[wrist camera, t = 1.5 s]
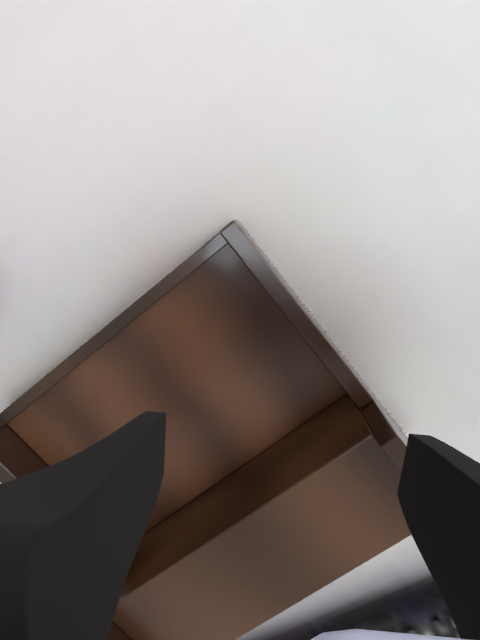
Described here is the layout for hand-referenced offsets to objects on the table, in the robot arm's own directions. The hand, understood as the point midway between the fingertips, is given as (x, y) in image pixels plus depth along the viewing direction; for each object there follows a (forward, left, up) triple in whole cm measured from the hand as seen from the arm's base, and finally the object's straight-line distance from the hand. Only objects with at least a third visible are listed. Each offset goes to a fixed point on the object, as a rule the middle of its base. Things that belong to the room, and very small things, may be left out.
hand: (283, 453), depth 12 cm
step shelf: (-5, -1, -10) cm, 12 cm away
